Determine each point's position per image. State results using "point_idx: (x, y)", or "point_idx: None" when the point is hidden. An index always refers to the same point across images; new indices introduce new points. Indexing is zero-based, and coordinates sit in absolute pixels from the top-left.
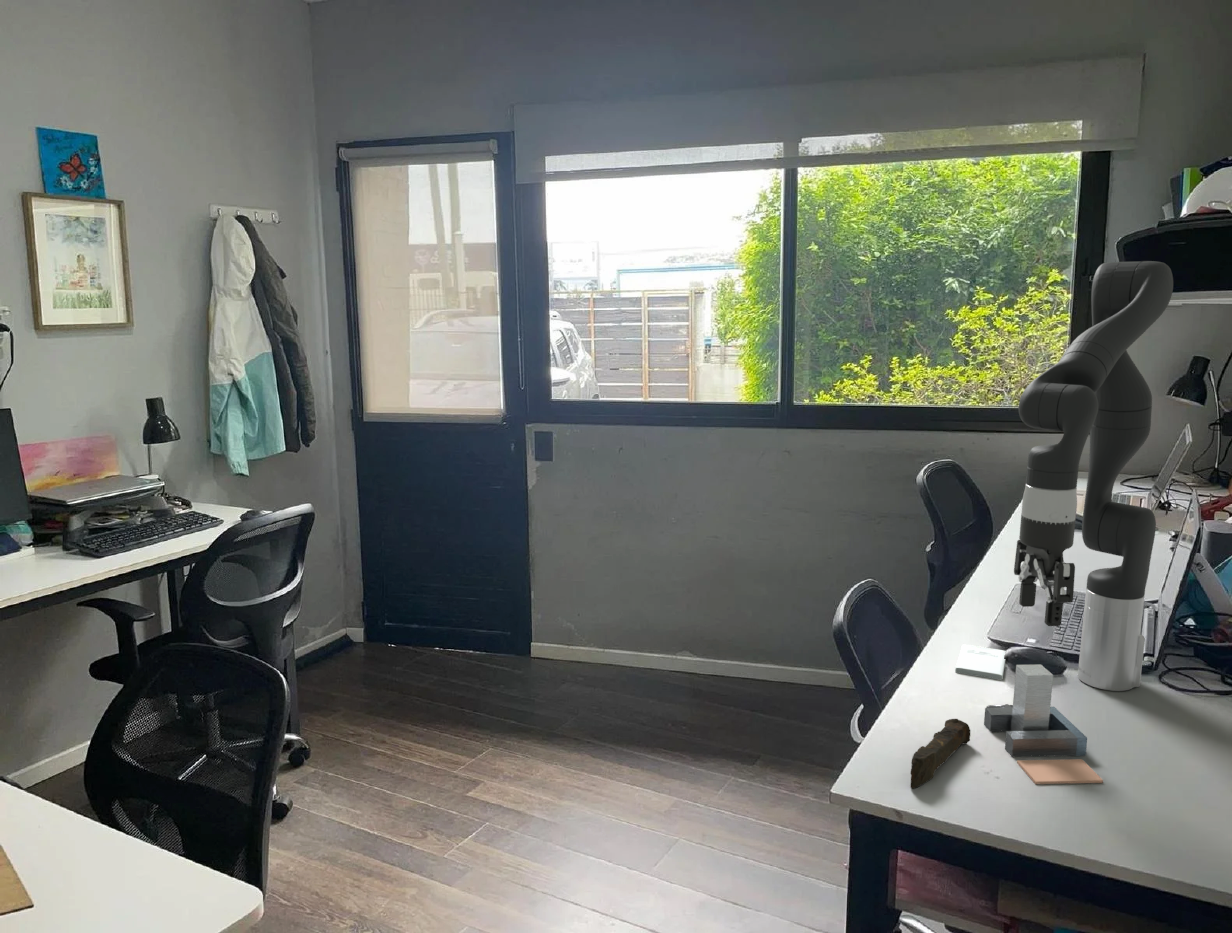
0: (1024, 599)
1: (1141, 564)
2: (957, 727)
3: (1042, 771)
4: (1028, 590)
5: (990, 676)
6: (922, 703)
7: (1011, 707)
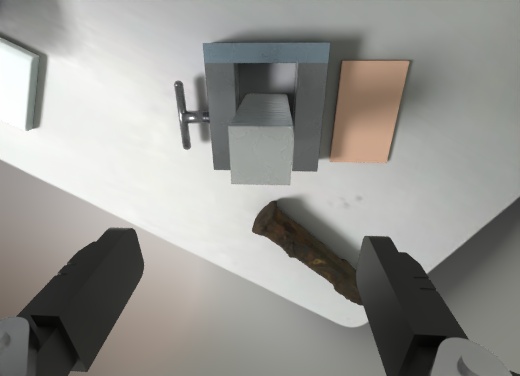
0: (129, 286)
1: None
2: (279, 230)
3: (364, 141)
4: (97, 312)
5: (35, 76)
6: (160, 212)
7: (210, 127)
